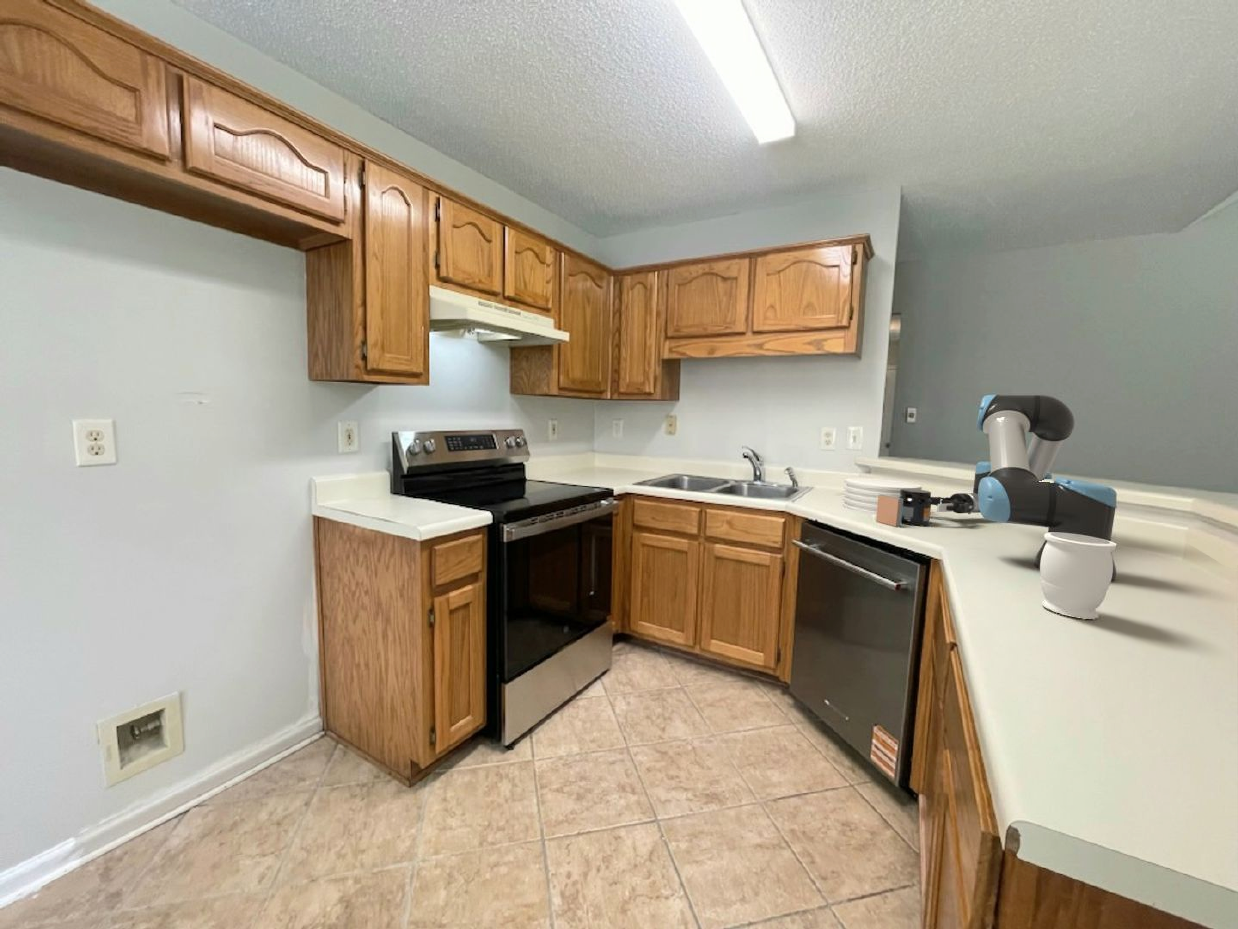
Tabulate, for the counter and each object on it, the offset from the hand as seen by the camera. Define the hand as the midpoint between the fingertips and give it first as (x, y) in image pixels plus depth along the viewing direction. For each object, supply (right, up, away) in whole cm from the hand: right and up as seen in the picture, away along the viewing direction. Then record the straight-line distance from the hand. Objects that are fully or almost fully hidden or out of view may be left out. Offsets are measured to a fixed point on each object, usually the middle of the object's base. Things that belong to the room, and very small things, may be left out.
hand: (921, 504), depth 178 cm
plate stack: (-2, -5, +25) cm, 26 cm away
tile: (-14, -7, -4) cm, 16 cm away
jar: (-21, -15, -81) cm, 85 cm away
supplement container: (-4, -7, -1) cm, 8 cm away
